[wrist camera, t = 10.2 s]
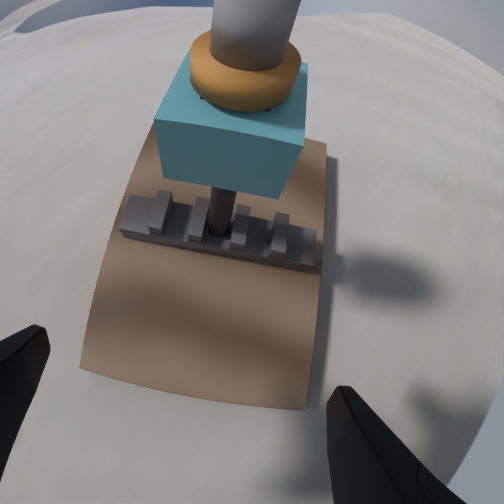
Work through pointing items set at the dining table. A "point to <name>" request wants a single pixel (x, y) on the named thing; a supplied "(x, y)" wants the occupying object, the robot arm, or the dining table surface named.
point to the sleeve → (230, 139)
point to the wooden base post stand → (218, 246)
